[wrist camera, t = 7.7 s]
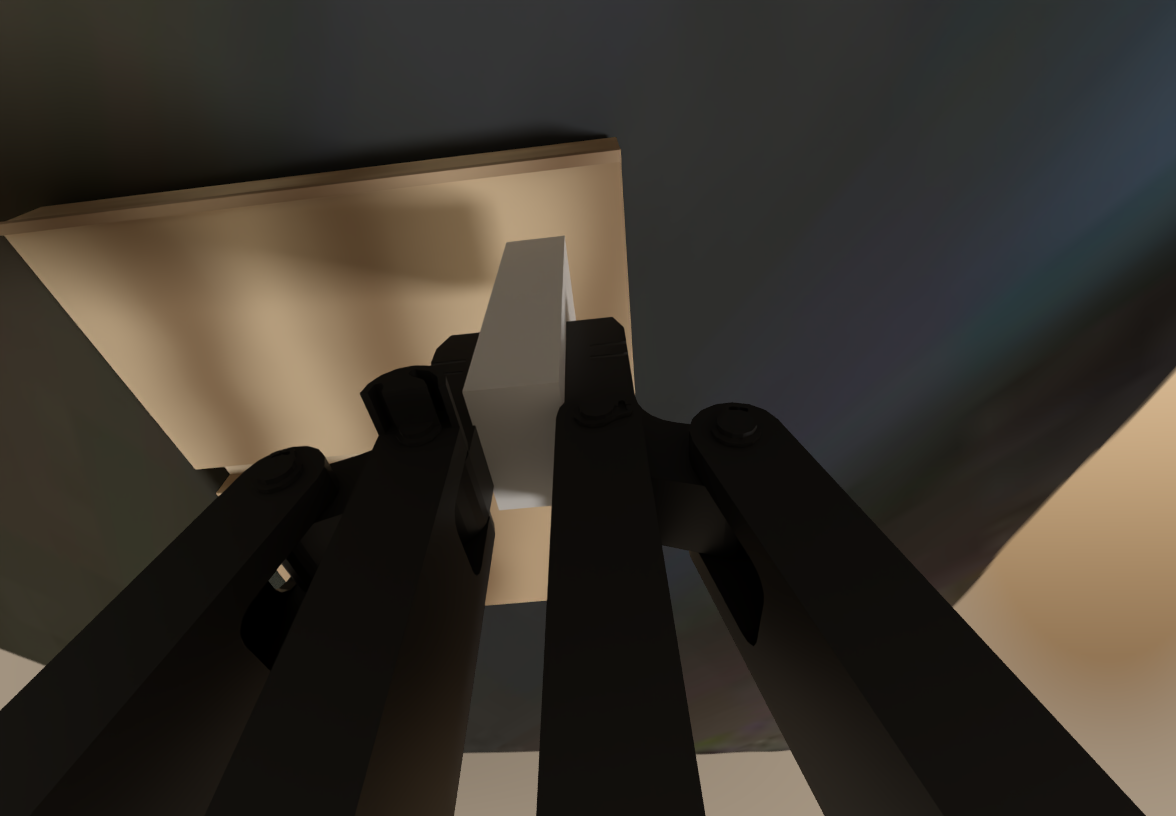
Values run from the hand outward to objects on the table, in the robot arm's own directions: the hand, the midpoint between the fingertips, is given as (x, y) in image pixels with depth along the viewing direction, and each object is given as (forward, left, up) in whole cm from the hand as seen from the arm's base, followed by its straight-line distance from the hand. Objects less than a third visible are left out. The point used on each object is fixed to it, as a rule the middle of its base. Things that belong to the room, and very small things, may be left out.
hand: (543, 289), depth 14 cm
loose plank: (-7, -2, -4) cm, 8 cm away
